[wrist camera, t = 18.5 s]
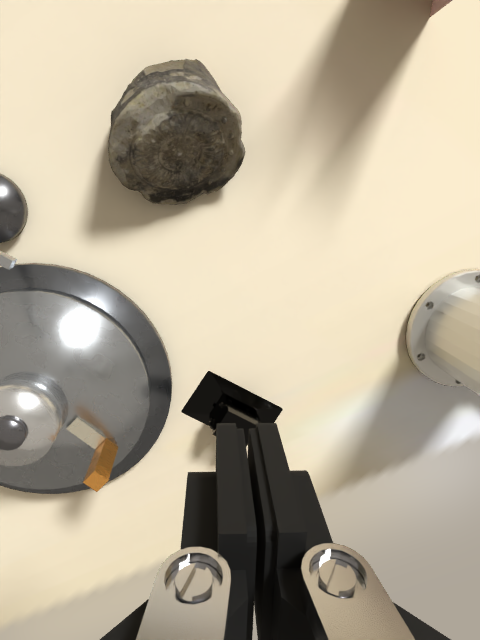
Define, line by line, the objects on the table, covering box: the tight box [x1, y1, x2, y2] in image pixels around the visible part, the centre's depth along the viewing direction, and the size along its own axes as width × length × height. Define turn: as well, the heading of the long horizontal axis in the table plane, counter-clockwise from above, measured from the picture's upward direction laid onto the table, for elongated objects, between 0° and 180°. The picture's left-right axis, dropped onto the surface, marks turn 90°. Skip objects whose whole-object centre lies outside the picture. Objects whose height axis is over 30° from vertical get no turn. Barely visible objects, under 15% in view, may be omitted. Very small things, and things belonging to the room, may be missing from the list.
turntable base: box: [0, 263, 172, 494], centre depth 40 cm, size 24×24×1 cm
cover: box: [0, 372, 69, 466], centre depth 36 cm, size 7×7×5 cm
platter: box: [0, 288, 151, 492], centre depth 36 cm, size 20×20×6 cm
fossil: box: [108, 59, 245, 204], centre depth 32 cm, size 11×9×10 cm
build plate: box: [182, 371, 282, 446], centre depth 42 cm, size 12×7×5 cm, turn 58°
